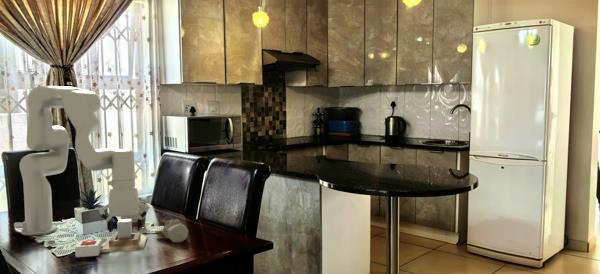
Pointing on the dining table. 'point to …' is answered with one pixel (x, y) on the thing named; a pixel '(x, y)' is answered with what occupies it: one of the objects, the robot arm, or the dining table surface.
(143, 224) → the food container
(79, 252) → the button box
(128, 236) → the block
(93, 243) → the button
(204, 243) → the dining table surface
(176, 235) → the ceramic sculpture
